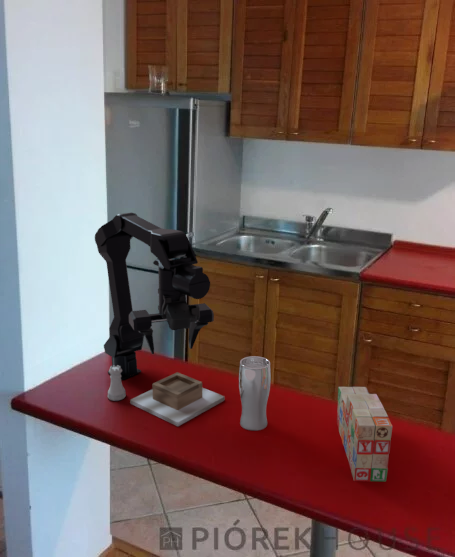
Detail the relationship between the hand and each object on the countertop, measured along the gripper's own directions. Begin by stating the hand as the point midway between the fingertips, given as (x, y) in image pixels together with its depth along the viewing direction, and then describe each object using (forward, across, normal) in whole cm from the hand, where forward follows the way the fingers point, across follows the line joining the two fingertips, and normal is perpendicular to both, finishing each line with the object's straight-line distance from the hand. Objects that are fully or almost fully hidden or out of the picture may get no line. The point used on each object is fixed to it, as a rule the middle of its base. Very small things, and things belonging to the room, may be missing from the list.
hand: (171, 350), depth 134 cm
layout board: (+14, +1, 0) cm, 14 cm away
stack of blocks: (+13, +31, -33) cm, 47 cm away
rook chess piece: (+14, -12, +8) cm, 20 cm away
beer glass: (+13, +14, -16) cm, 25 cm away
